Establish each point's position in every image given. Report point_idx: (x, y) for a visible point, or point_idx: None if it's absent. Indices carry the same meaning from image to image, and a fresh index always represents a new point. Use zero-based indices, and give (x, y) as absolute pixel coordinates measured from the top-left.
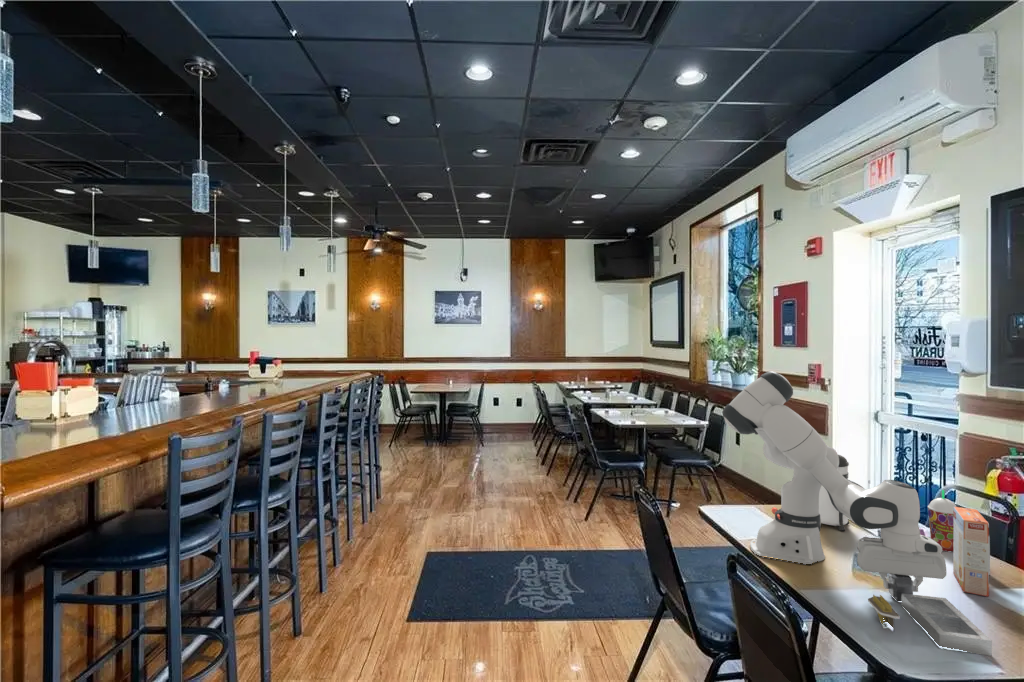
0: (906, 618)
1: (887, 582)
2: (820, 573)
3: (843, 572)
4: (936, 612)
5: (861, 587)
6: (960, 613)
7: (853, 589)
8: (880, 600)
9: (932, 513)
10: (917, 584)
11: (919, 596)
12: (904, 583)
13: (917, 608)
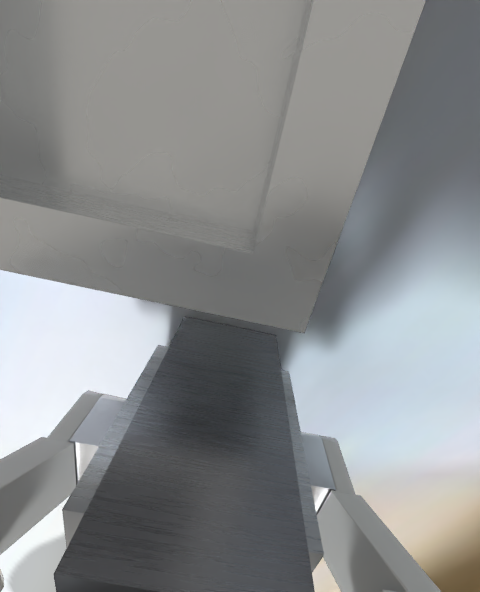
0: (416, 42)
1: (346, 497)
2: (451, 573)
3: (328, 574)
4: (74, 101)
5: (359, 478)
6: None
7: (428, 463)
8: None
9: None
10: (38, 456)
11: (131, 266)
12: (202, 468)
13: None
